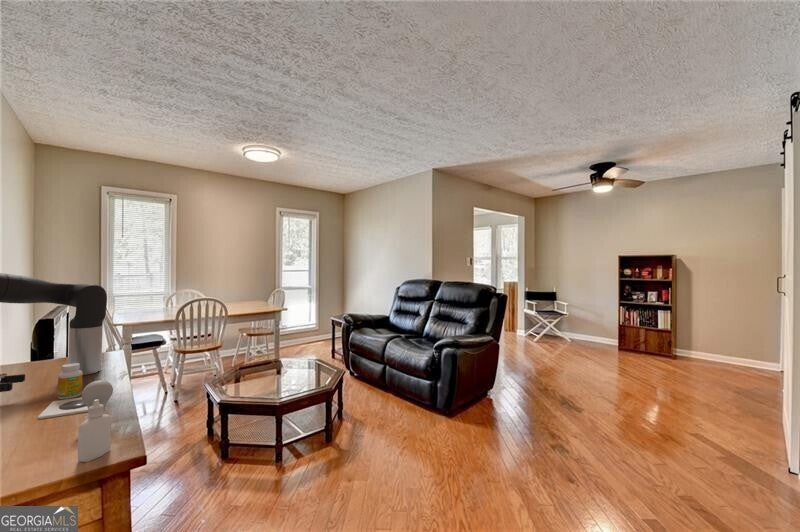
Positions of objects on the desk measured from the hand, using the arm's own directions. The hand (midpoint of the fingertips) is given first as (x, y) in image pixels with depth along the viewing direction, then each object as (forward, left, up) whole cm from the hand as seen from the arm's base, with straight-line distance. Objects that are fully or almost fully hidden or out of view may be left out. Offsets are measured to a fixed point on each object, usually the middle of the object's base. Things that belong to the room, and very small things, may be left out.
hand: (18, 382), depth 99 cm
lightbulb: (+27, +22, -6) cm, 35 cm away
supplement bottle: (0, +11, -6) cm, 13 cm away
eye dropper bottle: (+46, +25, -6) cm, 53 cm away
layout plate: (+11, +15, -6) cm, 20 cm away
